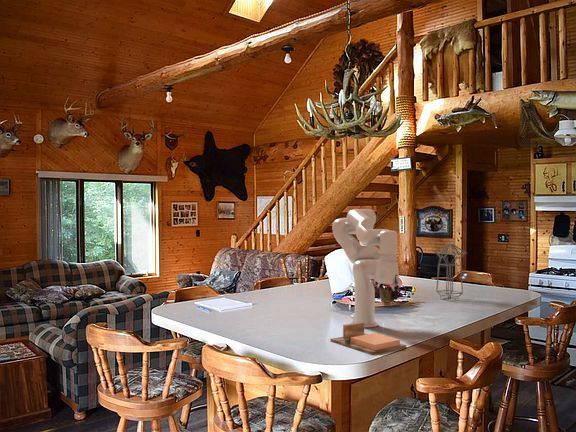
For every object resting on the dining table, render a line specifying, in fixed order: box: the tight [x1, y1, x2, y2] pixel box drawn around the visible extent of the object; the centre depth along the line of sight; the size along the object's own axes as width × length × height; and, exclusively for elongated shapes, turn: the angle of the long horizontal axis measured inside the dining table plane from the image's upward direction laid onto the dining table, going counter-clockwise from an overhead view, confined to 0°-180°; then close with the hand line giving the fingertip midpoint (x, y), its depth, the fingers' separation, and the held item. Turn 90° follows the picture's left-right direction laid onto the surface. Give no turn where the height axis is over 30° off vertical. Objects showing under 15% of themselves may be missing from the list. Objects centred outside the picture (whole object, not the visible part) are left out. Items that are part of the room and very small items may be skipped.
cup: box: [379, 286, 395, 307], centre depth 230 cm, size 8×7×8 cm
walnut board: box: [329, 322, 407, 356], centre depth 215 cm, size 25×19×7 cm
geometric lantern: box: [433, 243, 468, 300], centre depth 324 cm, size 16×16×35 cm
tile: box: [351, 332, 401, 350], centre depth 212 cm, size 14×14×2 cm
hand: (387, 297), depth 230 cm, fingers closed on cup, 7 cm apart
